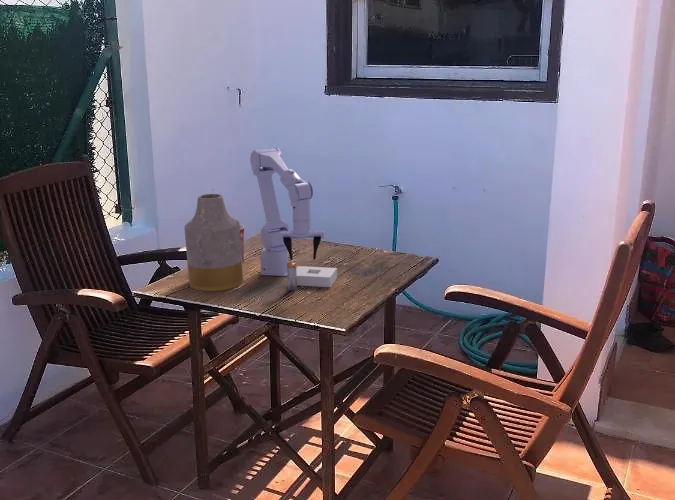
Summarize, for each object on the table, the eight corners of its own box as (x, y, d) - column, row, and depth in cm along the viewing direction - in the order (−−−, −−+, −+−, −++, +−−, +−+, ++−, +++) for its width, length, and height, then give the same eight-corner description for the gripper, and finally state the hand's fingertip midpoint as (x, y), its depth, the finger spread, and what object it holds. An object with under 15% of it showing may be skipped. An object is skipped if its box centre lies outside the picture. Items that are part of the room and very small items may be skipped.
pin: (287, 290, 242) (285, 264, 239) (289, 287, 245) (288, 261, 242) (295, 291, 241) (294, 265, 238) (298, 288, 244) (297, 262, 241)
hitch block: (290, 284, 247) (289, 275, 246) (298, 275, 256) (298, 266, 255) (330, 287, 244) (330, 277, 243) (337, 277, 253) (336, 268, 252)
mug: (251, 260, 275) (249, 225, 271) (237, 266, 267) (234, 231, 264) (224, 255, 281) (222, 222, 277) (209, 262, 273) (207, 227, 269)
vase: (196, 295, 239) (188, 204, 231) (184, 278, 256) (176, 193, 247) (249, 286, 246) (244, 198, 238) (234, 271, 262) (229, 188, 254)
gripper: (278, 222, 234) (280, 262, 238) (323, 221, 234) (324, 262, 238) (280, 217, 241) (282, 256, 245) (324, 216, 241) (325, 255, 245)
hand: (303, 258), depth 242 cm, fingers open, 7 cm apart
